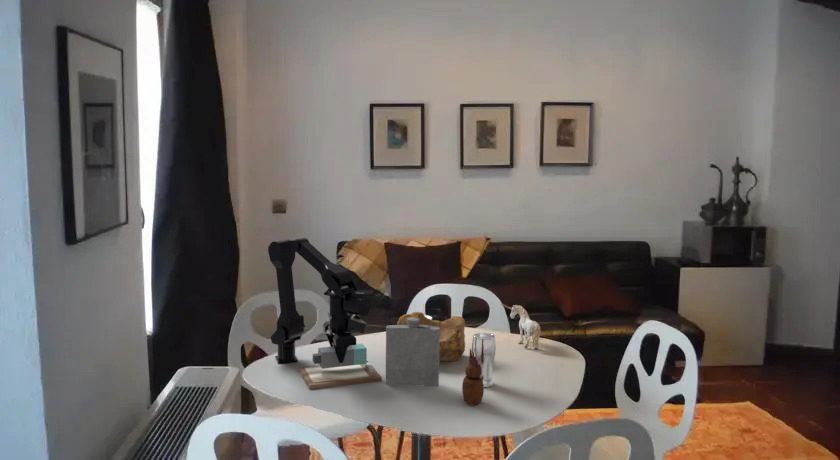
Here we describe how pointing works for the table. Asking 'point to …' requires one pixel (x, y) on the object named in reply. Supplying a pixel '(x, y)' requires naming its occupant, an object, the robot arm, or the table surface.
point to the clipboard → (339, 375)
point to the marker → (352, 357)
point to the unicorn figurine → (526, 326)
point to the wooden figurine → (473, 382)
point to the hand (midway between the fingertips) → (339, 360)
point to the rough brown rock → (444, 334)
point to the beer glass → (484, 355)
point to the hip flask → (412, 354)
